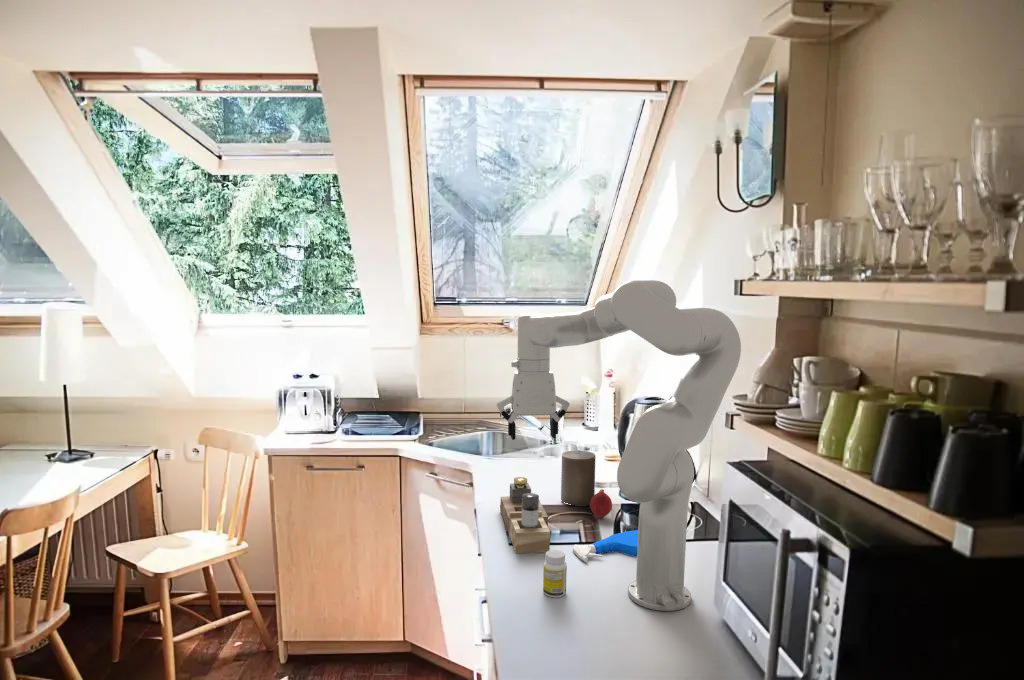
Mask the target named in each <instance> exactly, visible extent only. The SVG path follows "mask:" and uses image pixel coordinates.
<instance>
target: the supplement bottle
mask: <svg viewBox="0 0 1024 680" xmlns="http://www.w3.org/2000/svg"><path fill="white" fill-rule="evenodd" d="M544 558H545V561H544V563H543V581H542V582H543V583H542V584H543V585H542V586H543V587H542V592H543V594H544V595H545V596H547V597H549V598H557V599H558V598H562V597H564V596H565V595H566V593H567V569H568V565H567V562H566V554H565V552H564V551H562V550H559V549H550V550H549V551H547V552H545V557H544Z"/></svg>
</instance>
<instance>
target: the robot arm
mask: <svg viewBox="0 0 1024 680" xmlns="http://www.w3.org/2000/svg"><path fill="white" fill-rule="evenodd" d="M628 331H631V332H632V333H633V334H635V335H636V336H638V337H640V338H642V339H643V340H644V341H646V342H648V343H649V344H650V345H652V346H654V348H657V349H658V350H659V351H661V352H663V353H665V354H668V355H672V356H676V357H677V356H678V357H681V356H682V357H683V356H688V355H689V356H690V355H695V356H694V358H693V360H692V361H691V362H690V364H689V365H688V367H687V368H686V369H685V371H684V372H683V374H682V376H681V378H680V381H679V383H678V386H677V388H676V390H675V391H674V393H673V395H672V396H671V398H670V399H669V400H668V401H666V402H663V403H659V404H656V405H653V406H651V407H649V408H647V409H646V410H645V411H643V413H642V414H641V415H640V417H639V418H638V419H637V421H636V423H635V425H634V427H633V429H632V432H631V434H630V436H629V439H628V441H627V444H626V446H625V448H624V450H623V453H622V455H621V457H620V460H619V462H618V466H617V471H616V480H617V485H618V488H619V490H620V492H621V494H622V495H623V496H624V497H625V498H626V499H627V500H629V501H631V502H634V503H639V510H638V511H639V512H638V528H637V530H638V549H637V556H636V557H637V558H636V576H635V577H636V578H635V580H633V581H632V582H631V583H629V585H628V587H627V594H628V597H629V598H630V599H631V600H632V601H633V602H634V603H636V604H637V605H638V606H641V607H643V608H647V609H650V610H654V611H662V612H663V611H664V612H673V611H679V610H683V609H684V608H686V607H688V606H689V605H690V604H691V600H692V593H691V591H690V590H689V589H688V588H687V587H686V586H685V585H684V584H685V568H686V566H685V564H686V550H687V549H686V548H687V547H686V546H687V545H686V544H687V543H686V542H687V528H688V527H687V526H688V512H689V503H690V502H689V501H690V497H691V496H690V495H691V493H692V489H693V487H692V486H693V483H694V476H695V468H694V463H693V459H692V458H691V455H690V454H689V452H688V451H687V450H689V449H691V448H694V447H696V446H698V445H700V444H701V443H702V442H703V441H704V439H705V438H706V436H707V434H708V432H709V430H710V427H711V425H712V424H713V421H714V419H715V417H716V415H717V412H718V411H719V408H720V406H721V404H722V401H723V399H724V396H725V394H726V392H727V389H728V388H729V386H730V384H731V382H732V380H733V378H734V376H735V373H736V371H737V368H738V366H739V363H740V360H741V353H742V342H741V338H740V334H739V331H738V328H737V327H736V325H735V323H734V322H733V321H732V319H731V318H730V317H729V316H728V315H726V314H725V313H724V312H722V311H720V310H717V309H714V308H709V307H696V308H695V307H694V308H683V309H682V308H679V307H677V297H676V293H675V292H674V289H672V287H671V286H670V285H668V284H667V283H665V282H664V281H661V280H653V279H652V280H645V279H644V280H642V279H641V280H640V279H639V280H638V279H637V280H629V281H626V282H623V283H622V284H620V285H619V286H617V288H615V290H614V291H613V292H612V293H608V294H605V295H602V296H600V297H599V298H597V300H596V302H595V304H594V307H592V308H588V309H585V310H583V311H578V312H568V313H567V312H564V313H563V312H562V313H552V314H547V313H546V314H545V313H541V312H540V313H539V312H538V313H535V312H531V313H530V312H529V313H522V314H520V315H519V316H518V319H517V358H516V360H514V361H511V363H510V364H511V368H516V371H514V376H513V379H512V386H511V387H512V389H511V395H510V396H508V397H506V398H504V399H502V400H501V401H498V403H496V407H497V409H498V412H499V413H500V415H501V416H502V417H503V418H504V419H505V420H506V421H507V425H508V426H507V428H508V429H507V434H508V436H509V437H510V439H511V440H512V441H514V440H516V430H517V429H516V422H515V421H516V418H518V417H519V416H524V417H525V416H526V417H527V416H528V417H529V416H550V417H551V419H550V422H549V423H550V424H549V425H550V427H549V429H550V431H549V432H550V434H549V435H550V437H551V438H552V439H556V438H557V435H558V434H559V422H560V420H561V419H562V418H563V417H564V416H565V415H566V413H567V411H568V409H569V408H570V405H571V404H570V402H569V401H568V400H565V399H563V398H561V397H560V396H558V395H557V394H556V393H557V392H556V383H555V376H554V372H553V371H551V370H550V368H551V367H550V358H551V356H550V355H551V350H550V349H556V348H562V347H563V348H565V347H574V346H580V345H581V346H582V345H585V344H589V343H592V342H596V341H599V340H603V339H606V338H609V337H612V336H614V335H618V334H621V333H622V334H623V333H625V332H628ZM557 403H558V404H559V405H561V408H560V409H559V410H558V411H557ZM508 405H511V411H510V413H508V412H507V411H506V409H505V408H506V406H508ZM556 411H557V412H556Z"/></svg>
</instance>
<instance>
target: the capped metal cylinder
mask: <svg viewBox="0 0 1024 680" xmlns="http://www.w3.org/2000/svg"><path fill="white" fill-rule="evenodd" d="M539 498H540V496H539V494H537V493H534V492H533V493H532V492H531V493H526V494H523V495H522V523H521V529H527V528H538V509H539V501H540V499H539Z"/></svg>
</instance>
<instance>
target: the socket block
mask: <svg viewBox="0 0 1024 680" xmlns="http://www.w3.org/2000/svg"><path fill="white" fill-rule="evenodd" d="M526 493H532V487H531V486H530V485H529V483H528V482H527V484H526V485H524V488H517V485H515V484H514V483H509V496H500V501H499V502H500V505H499V507H500V510H499V511H500V514H501V517H502V519H503V522H504V525H505V528H506V531H507V533H508V534H509V517H510V512H517V511H522V495H523V494H526ZM538 511H542V517H543V519H544V521H545V523H546V525H547V527H548V528H549V516H548V514H547V512H546V510H545V508H544V506H543V505H542V503H541V500H539V509H538Z"/></svg>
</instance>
